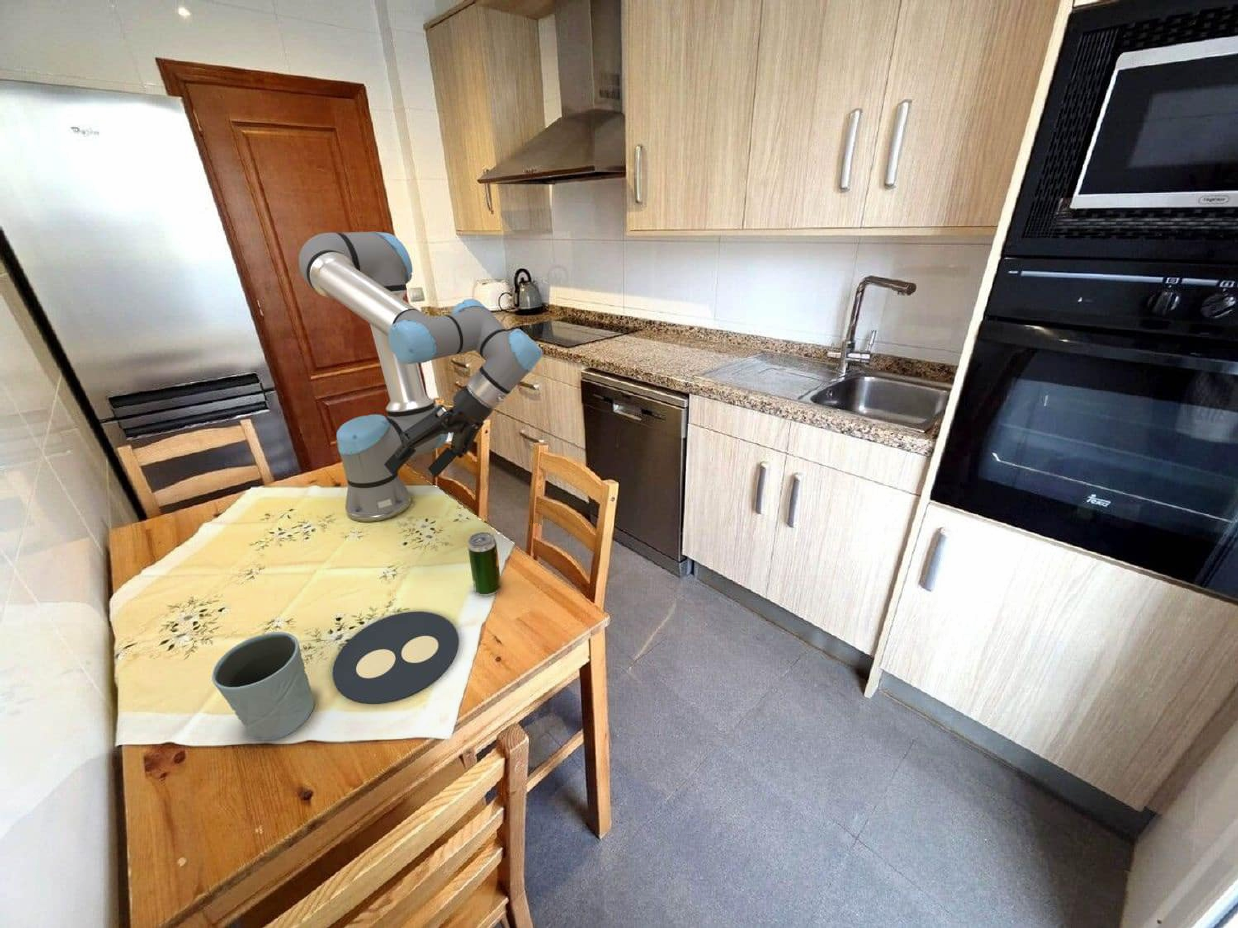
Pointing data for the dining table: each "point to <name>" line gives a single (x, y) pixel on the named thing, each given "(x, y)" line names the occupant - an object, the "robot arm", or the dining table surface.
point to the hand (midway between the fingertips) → (412, 471)
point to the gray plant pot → (266, 685)
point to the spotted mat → (395, 657)
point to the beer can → (484, 563)
